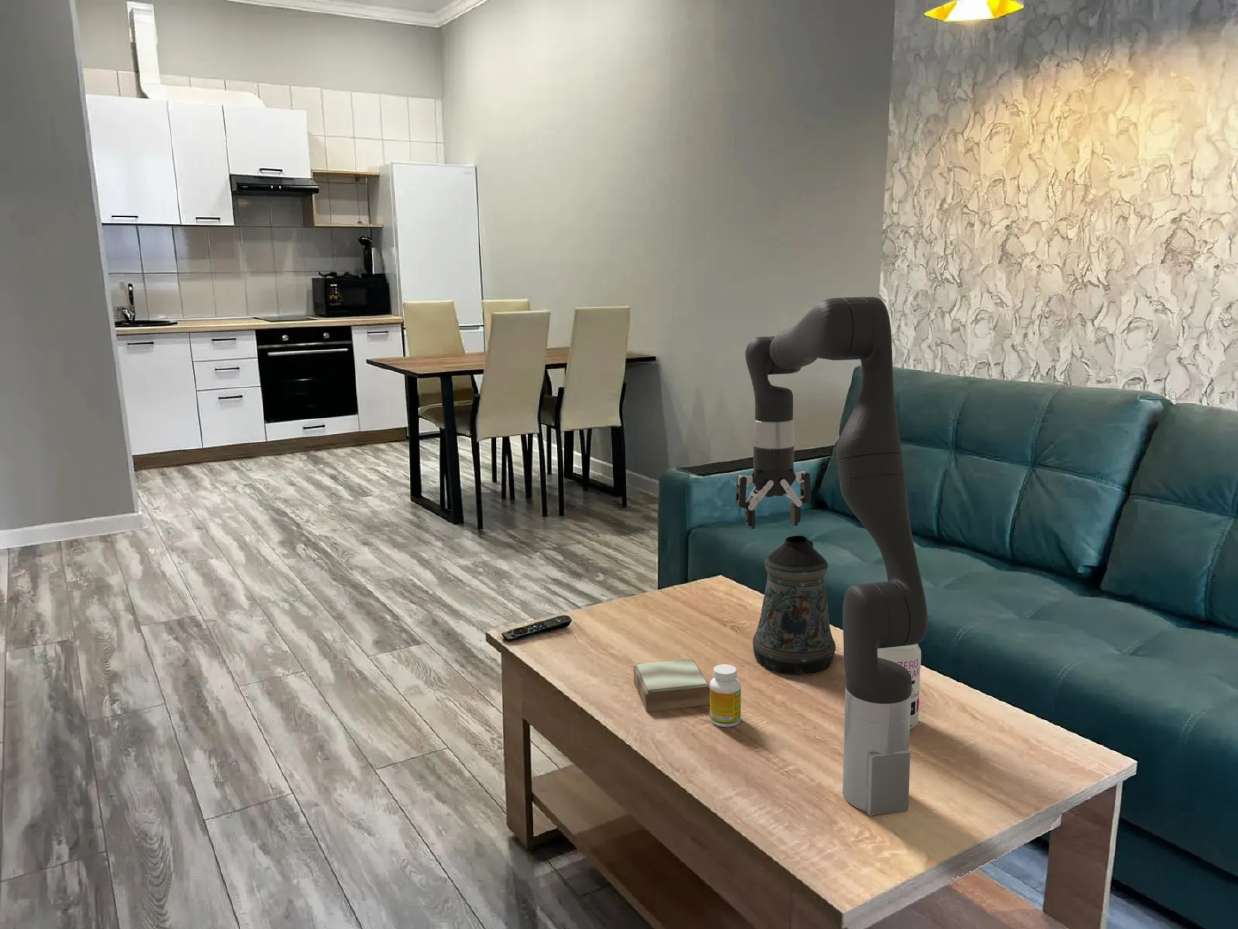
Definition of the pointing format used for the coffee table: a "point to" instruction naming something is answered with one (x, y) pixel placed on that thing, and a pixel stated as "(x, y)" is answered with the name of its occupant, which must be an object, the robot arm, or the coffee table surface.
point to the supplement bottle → (725, 696)
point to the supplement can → (912, 662)
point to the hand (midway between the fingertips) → (773, 526)
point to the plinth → (671, 685)
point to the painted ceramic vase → (795, 612)
